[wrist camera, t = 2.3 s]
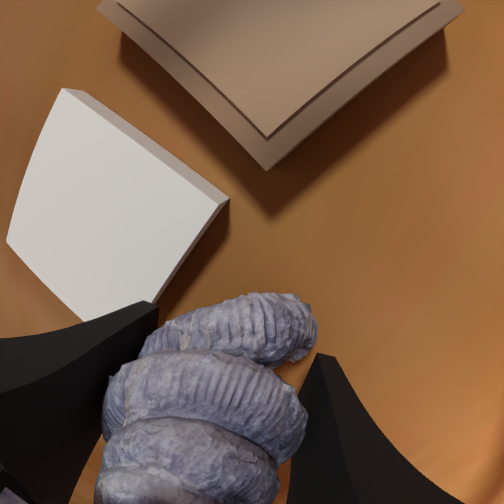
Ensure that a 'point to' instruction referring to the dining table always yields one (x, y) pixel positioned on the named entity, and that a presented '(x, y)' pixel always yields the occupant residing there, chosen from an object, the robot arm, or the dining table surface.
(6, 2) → the dining table surface
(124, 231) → the ceramic tile
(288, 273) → the dining table surface
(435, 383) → the dining table surface
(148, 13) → the walnut base
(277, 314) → the seashell
